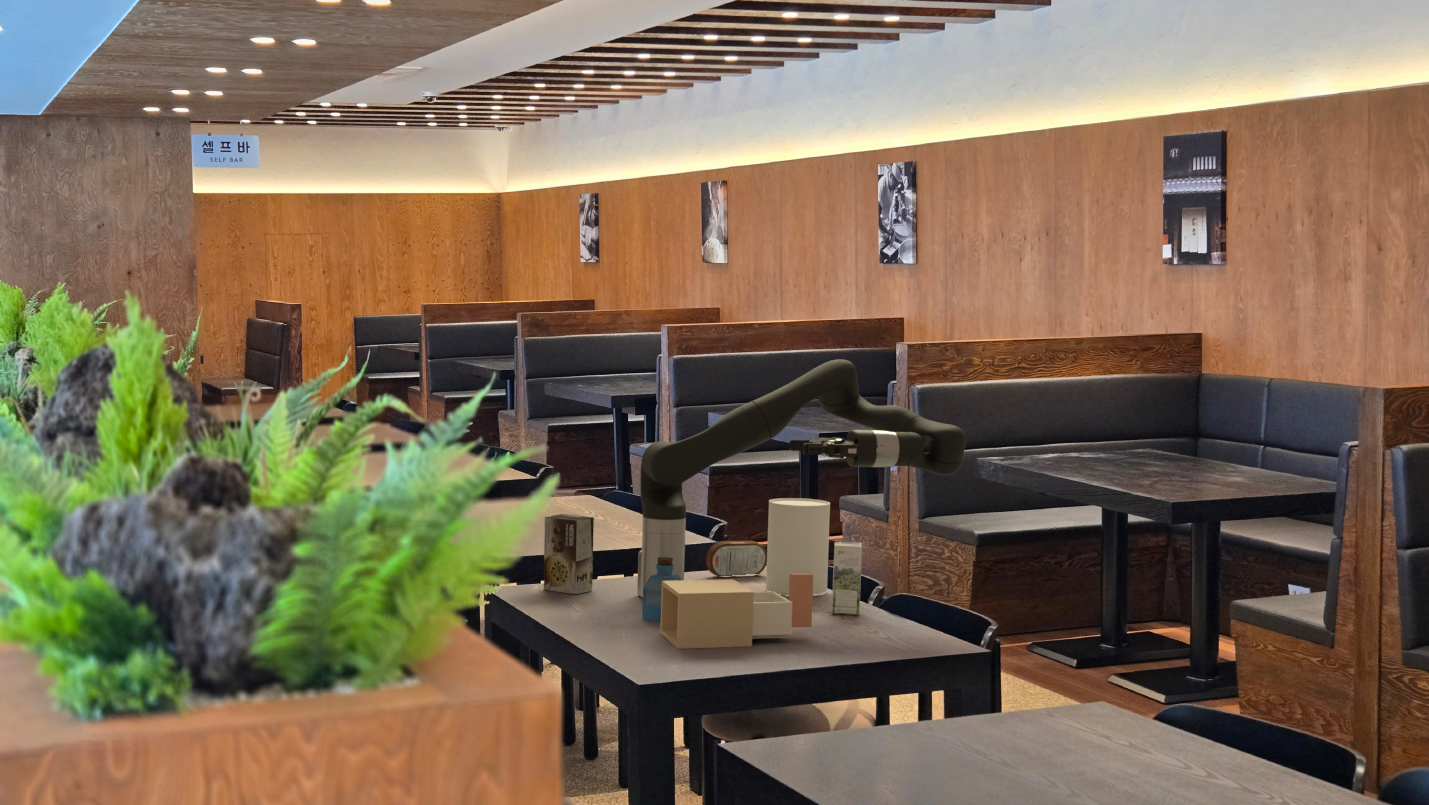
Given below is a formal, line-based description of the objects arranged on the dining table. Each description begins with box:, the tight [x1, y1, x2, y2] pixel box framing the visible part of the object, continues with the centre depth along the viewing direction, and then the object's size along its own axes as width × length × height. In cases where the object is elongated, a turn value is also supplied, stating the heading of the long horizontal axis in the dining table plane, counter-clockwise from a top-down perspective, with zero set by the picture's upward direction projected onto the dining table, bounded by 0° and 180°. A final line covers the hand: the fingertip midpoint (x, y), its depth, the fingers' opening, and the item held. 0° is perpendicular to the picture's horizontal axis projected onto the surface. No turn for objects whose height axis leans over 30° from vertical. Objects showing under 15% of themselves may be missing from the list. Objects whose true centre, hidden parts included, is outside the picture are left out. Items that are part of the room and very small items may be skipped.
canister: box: [765, 497, 831, 595], centre depth 317 cm, size 14×14×20 cm
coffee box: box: [543, 513, 595, 595], centre depth 310 cm, size 9×6×16 cm
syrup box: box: [831, 541, 863, 616], centre depth 295 cm, size 6×6×14 cm
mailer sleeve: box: [659, 578, 755, 650], centre depth 265 cm, size 14×13×10 cm
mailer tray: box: [752, 573, 814, 640], centre depth 268 cm, size 18×11×11 cm, turn 106°
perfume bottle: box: [641, 557, 681, 623], centre depth 283 cm, size 6×6×12 cm
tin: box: [705, 540, 767, 577], centre depth 334 cm, size 15×3×8 cm, turn 114°
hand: (796, 447), depth 286 cm, fingers open, 8 cm apart
